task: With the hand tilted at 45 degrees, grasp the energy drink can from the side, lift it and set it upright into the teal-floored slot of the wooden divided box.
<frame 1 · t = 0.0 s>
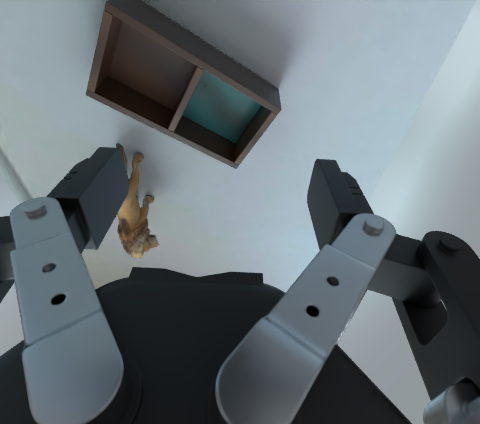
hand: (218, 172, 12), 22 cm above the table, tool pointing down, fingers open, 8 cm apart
wooden divided box: (191, 82, 32), on the table
lion figurine: (141, 185, 44), on the table
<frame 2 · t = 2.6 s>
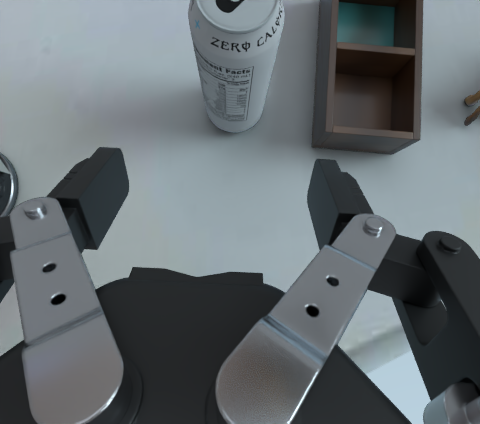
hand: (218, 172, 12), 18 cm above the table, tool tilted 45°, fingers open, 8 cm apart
wooden divided box: (355, 75, 32), on the table
energy drink can: (234, 109, 32), on the table
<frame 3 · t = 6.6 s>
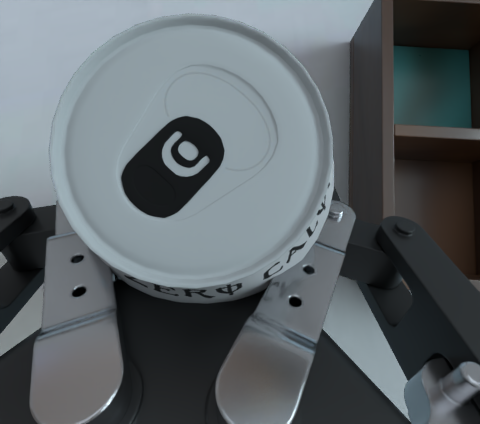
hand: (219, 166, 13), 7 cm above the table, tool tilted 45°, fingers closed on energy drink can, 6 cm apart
wooden divided box: (411, 157, 21), on the table
energy drink can: (223, 219, 20), on the table, touching gripper
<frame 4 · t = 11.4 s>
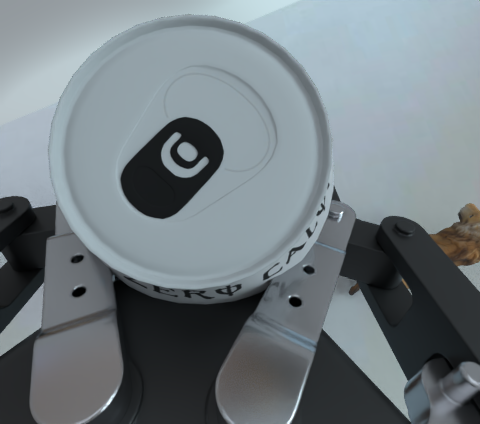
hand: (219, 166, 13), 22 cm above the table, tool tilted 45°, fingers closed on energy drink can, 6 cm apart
energy drink can: (223, 219, 20), point 15 cm above the table, touching gripper
lion figurine: (398, 253, 35), on the table
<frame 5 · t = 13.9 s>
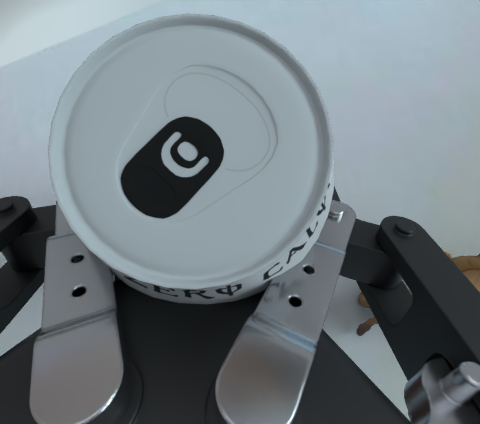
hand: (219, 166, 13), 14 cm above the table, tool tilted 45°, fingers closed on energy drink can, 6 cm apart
energy drink can: (223, 219, 20), point 6 cm above the table, touching gripper
lion figurine: (421, 278, 26), on the table
when the fingers open (8 cm above the table, at t = 16.1 s): energy drink can stays where it is, resting on wooden divided box.
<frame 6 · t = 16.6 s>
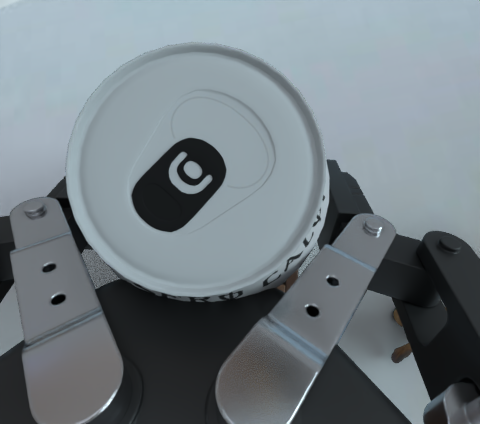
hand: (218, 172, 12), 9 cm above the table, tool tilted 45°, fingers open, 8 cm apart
energy drink can: (225, 222, 20), point 1 cm above the table, touching wooden divided box
lion figurine: (470, 289, 21), on the table
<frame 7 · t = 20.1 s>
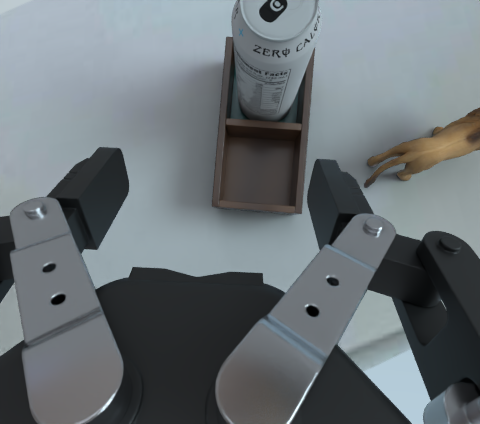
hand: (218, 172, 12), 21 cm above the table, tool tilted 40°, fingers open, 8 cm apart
wooden divided box: (261, 137, 34), on the table
energy drink can: (265, 101, 33), point 1 cm above the table, touching wooden divided box
lion figurine: (419, 149, 33), on the table
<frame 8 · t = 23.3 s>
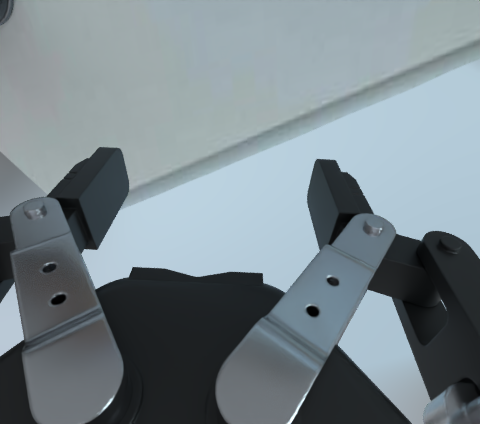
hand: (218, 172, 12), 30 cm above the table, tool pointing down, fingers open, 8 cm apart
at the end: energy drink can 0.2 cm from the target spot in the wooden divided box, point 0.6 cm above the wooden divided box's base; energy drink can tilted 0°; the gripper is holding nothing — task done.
